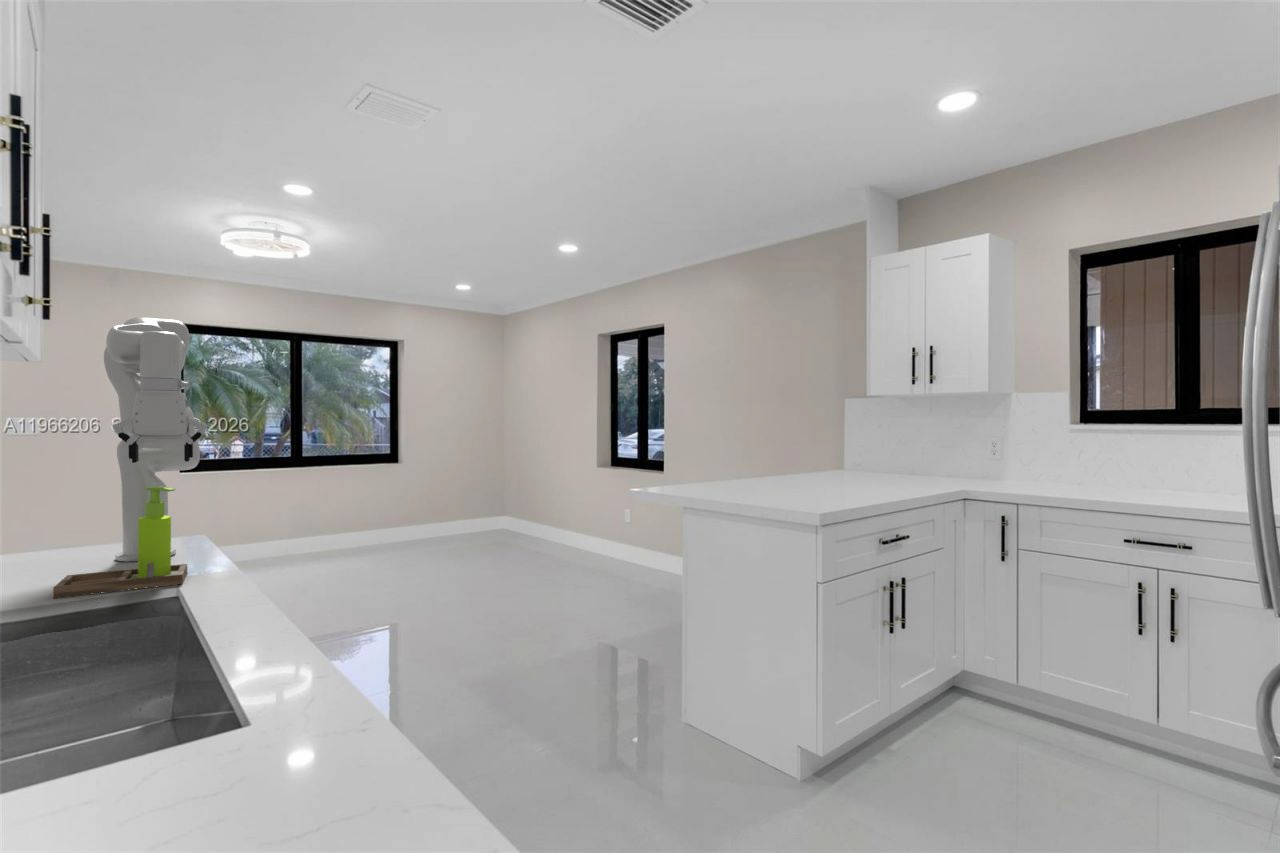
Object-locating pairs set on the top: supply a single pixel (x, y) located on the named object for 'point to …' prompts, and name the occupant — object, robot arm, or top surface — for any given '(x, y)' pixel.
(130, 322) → the robot arm
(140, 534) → the soap dispenser
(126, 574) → the wooden divided tray
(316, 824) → the top surface
